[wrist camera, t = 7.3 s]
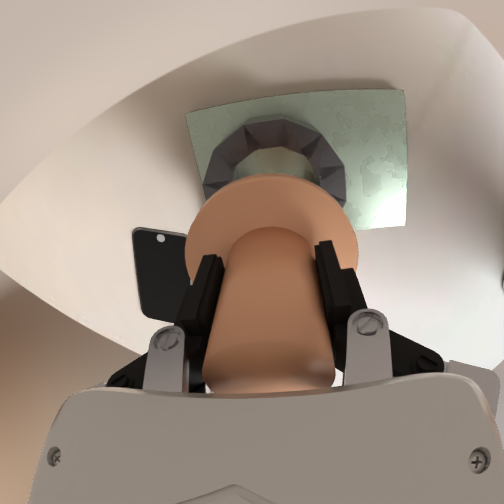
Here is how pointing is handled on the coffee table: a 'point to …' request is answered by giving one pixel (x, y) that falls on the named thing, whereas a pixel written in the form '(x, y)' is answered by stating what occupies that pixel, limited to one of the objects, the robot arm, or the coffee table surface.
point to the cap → (269, 282)
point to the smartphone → (160, 272)
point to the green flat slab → (313, 147)
